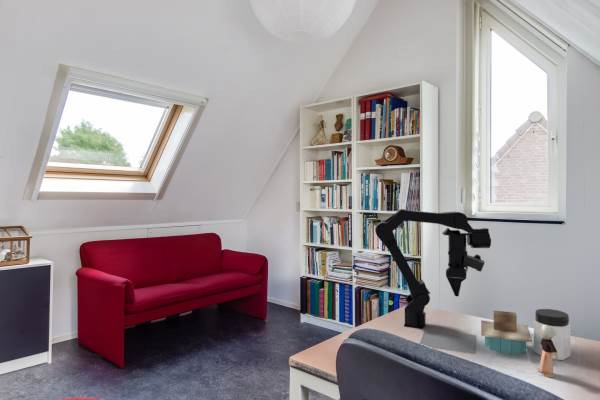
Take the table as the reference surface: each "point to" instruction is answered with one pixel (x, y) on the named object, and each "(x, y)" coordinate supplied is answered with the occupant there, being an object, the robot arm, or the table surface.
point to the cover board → (505, 334)
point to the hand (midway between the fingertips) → (457, 292)
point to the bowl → (505, 345)
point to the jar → (560, 326)
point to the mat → (449, 341)
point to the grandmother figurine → (547, 351)
